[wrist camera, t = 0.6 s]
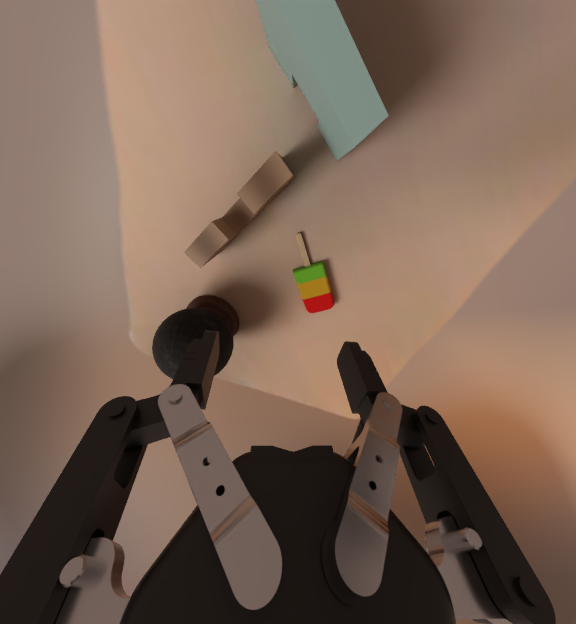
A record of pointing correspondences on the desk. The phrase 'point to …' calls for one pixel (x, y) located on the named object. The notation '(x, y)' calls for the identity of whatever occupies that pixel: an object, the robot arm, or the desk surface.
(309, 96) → the teal board
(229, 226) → the brown wooden block
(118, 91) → the desk surface
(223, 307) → the black ball on stand
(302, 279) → the popsicle
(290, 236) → the desk surface
